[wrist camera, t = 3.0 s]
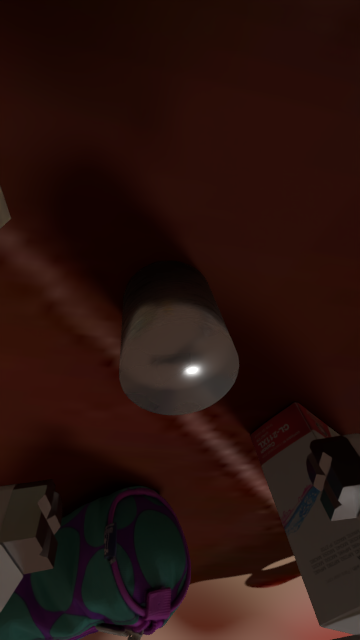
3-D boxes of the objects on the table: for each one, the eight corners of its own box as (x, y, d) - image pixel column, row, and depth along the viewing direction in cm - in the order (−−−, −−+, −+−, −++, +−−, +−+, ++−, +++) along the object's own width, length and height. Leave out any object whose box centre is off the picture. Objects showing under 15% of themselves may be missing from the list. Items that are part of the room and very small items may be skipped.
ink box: (246, 433, 26) (315, 632, 16) (297, 397, 24) (407, 594, 15) (305, 471, 30) (389, 650, 20) (352, 442, 28) (468, 621, 19)
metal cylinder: (211, 256, 18) (242, 316, 13) (211, 333, 20) (236, 407, 15) (116, 265, 17) (109, 330, 12) (129, 342, 20) (127, 421, 15)
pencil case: (117, 457, 26) (109, 615, 18) (185, 498, 30) (203, 640, 22) (-47, 559, 31) (-109, 716, 23) (31, 582, 36) (2, 721, 28)
